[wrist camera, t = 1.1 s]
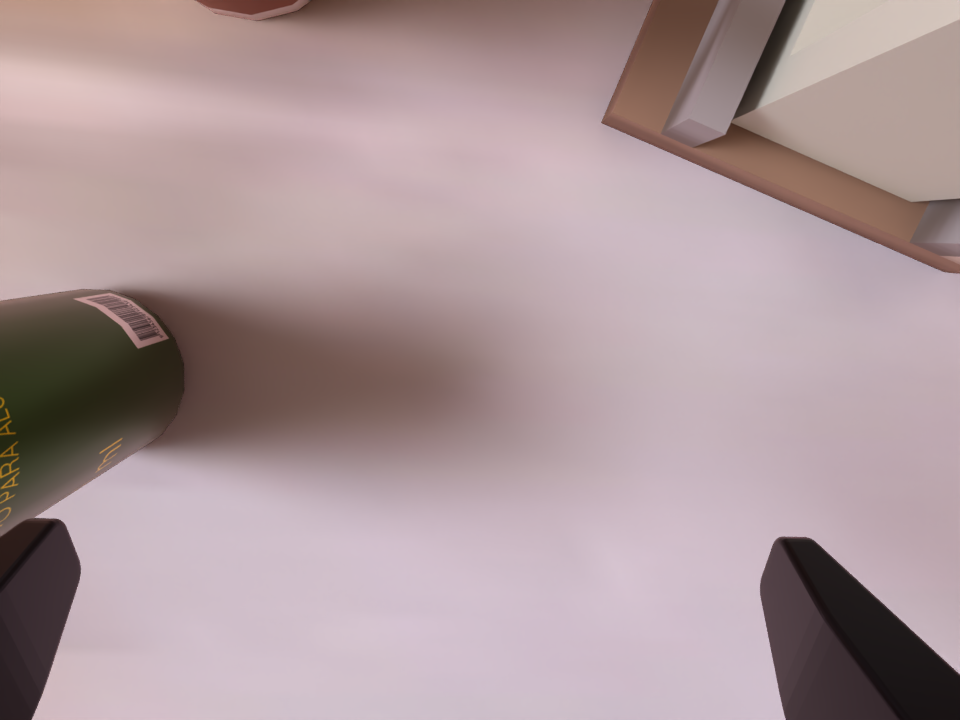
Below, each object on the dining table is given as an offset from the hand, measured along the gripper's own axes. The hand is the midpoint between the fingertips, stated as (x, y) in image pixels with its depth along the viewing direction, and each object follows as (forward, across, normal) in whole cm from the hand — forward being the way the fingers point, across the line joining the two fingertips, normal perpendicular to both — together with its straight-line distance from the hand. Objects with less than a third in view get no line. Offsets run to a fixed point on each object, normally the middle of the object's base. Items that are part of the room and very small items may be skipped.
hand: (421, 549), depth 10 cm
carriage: (+15, -13, -2) cm, 20 cm away
